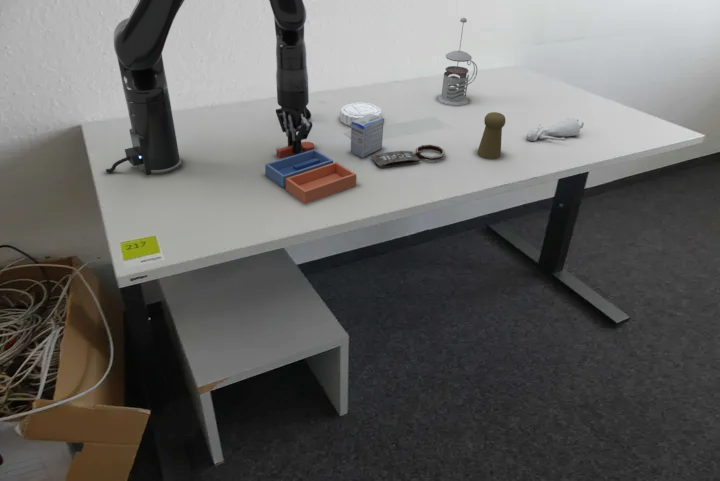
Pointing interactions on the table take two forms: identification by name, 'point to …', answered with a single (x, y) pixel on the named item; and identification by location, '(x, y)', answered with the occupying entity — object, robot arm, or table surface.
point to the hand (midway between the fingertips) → (294, 151)
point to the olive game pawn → (492, 136)
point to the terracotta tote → (320, 182)
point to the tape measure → (307, 113)
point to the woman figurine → (557, 130)
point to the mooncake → (357, 112)
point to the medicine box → (366, 135)
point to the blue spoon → (300, 166)
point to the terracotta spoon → (289, 150)
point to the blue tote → (276, 166)
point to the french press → (456, 78)
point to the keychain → (407, 156)
